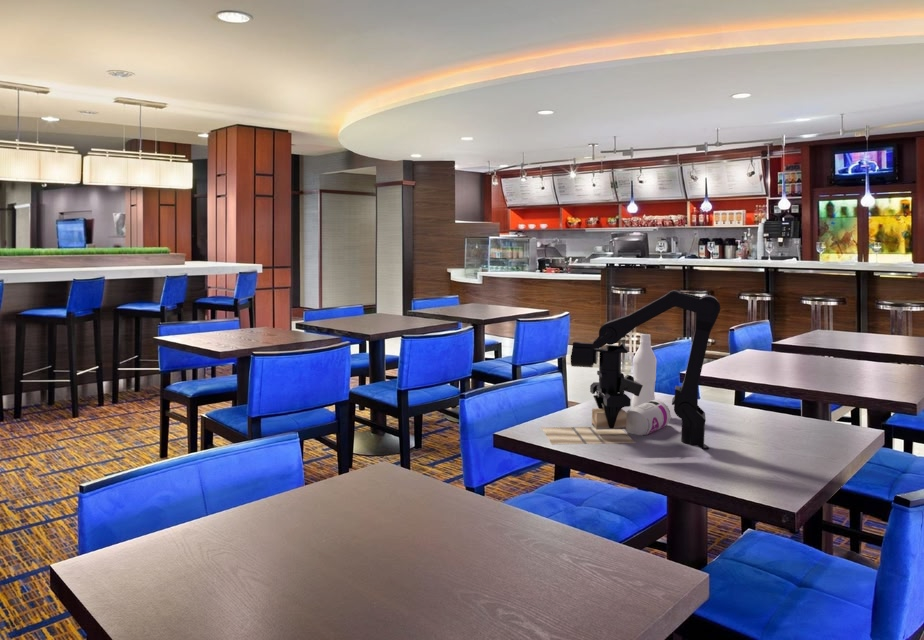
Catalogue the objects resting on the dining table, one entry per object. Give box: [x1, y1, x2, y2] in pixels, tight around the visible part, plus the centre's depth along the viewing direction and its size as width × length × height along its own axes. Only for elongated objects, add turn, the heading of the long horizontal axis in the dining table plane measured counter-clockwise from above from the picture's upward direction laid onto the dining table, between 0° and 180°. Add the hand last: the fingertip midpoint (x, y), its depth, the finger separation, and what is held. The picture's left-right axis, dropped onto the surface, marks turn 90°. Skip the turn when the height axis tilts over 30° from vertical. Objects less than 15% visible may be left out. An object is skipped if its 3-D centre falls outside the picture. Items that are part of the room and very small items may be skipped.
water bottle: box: [631, 333, 658, 408], centre depth 208 cm, size 7×7×25 cm
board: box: [541, 426, 637, 445], centre depth 183 cm, size 16×22×1 cm
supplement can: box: [624, 399, 672, 436], centre depth 189 cm, size 8×8×15 cm
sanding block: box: [591, 408, 627, 430], centre depth 182 cm, size 5×8×4 cm, turn 93°
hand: (608, 425), depth 183 cm, fingers closed on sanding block, 5 cm apart
